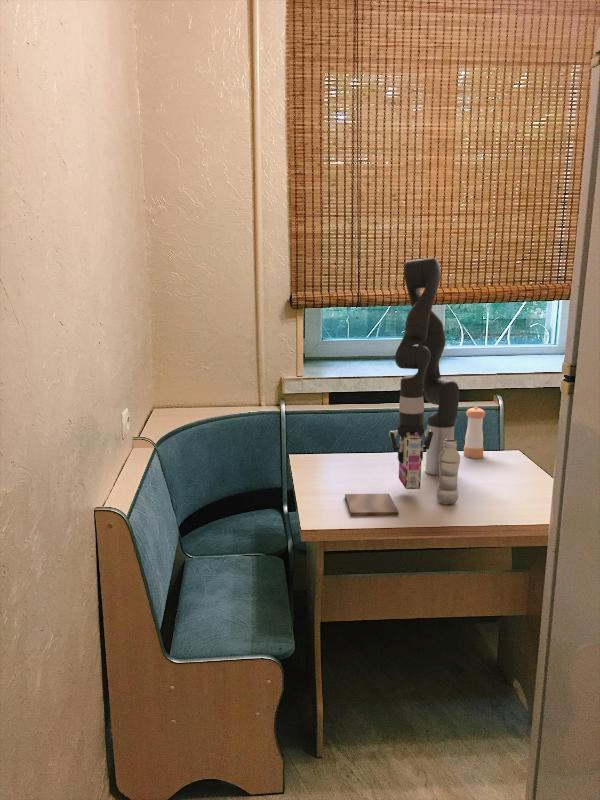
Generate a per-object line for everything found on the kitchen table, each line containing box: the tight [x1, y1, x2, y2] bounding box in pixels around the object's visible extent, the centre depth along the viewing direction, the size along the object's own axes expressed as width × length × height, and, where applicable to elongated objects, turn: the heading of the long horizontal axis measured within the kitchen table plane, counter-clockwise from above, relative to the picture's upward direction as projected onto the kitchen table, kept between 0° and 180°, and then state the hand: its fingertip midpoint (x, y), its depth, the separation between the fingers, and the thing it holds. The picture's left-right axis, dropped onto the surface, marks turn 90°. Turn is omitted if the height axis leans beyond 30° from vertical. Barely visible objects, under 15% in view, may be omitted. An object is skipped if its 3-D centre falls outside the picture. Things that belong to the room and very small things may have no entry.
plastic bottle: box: [435, 439, 461, 505], centre depth 214 cm, size 6×7×20 cm
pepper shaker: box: [463, 406, 486, 459], centre depth 265 cm, size 7×7×19 cm
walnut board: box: [344, 493, 399, 517], centre depth 213 cm, size 14×16×1 cm
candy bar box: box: [398, 435, 423, 490], centre depth 220 cm, size 11×5×16 cm, turn 4°
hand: (410, 462), depth 220 cm, fingers closed on candy bar box, 5 cm apart
